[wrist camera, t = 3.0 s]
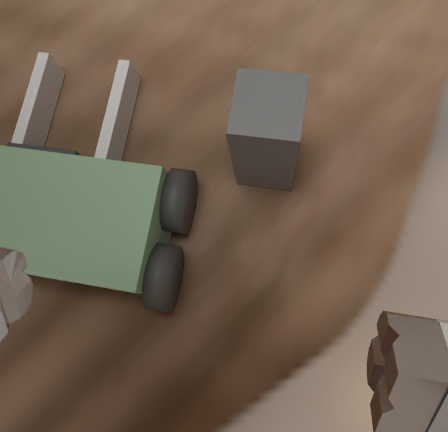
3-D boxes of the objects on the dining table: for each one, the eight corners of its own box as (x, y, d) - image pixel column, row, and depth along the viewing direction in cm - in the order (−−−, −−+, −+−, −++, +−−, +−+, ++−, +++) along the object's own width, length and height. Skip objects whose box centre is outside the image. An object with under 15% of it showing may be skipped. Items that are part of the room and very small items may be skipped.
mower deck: (-82, 267, 36) (-149, 257, 30) (-14, 64, 40) (-62, 22, 34) (175, 313, 33) (155, 312, 27) (218, 87, 37) (209, 45, 31)
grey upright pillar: (237, 184, 35) (225, 133, 25) (246, 135, 36) (237, 67, 26) (291, 191, 34) (300, 141, 24) (298, 141, 35) (309, 74, 25)
